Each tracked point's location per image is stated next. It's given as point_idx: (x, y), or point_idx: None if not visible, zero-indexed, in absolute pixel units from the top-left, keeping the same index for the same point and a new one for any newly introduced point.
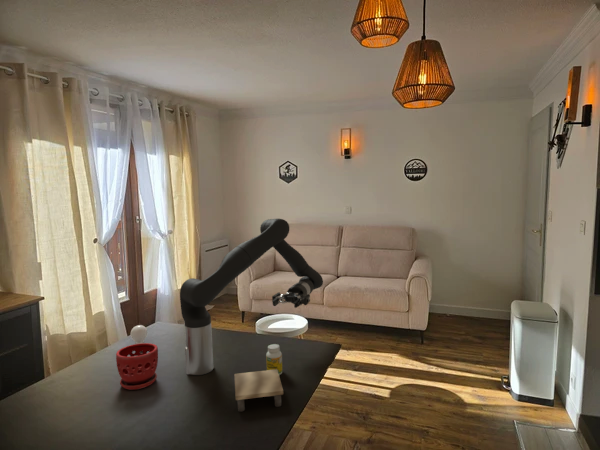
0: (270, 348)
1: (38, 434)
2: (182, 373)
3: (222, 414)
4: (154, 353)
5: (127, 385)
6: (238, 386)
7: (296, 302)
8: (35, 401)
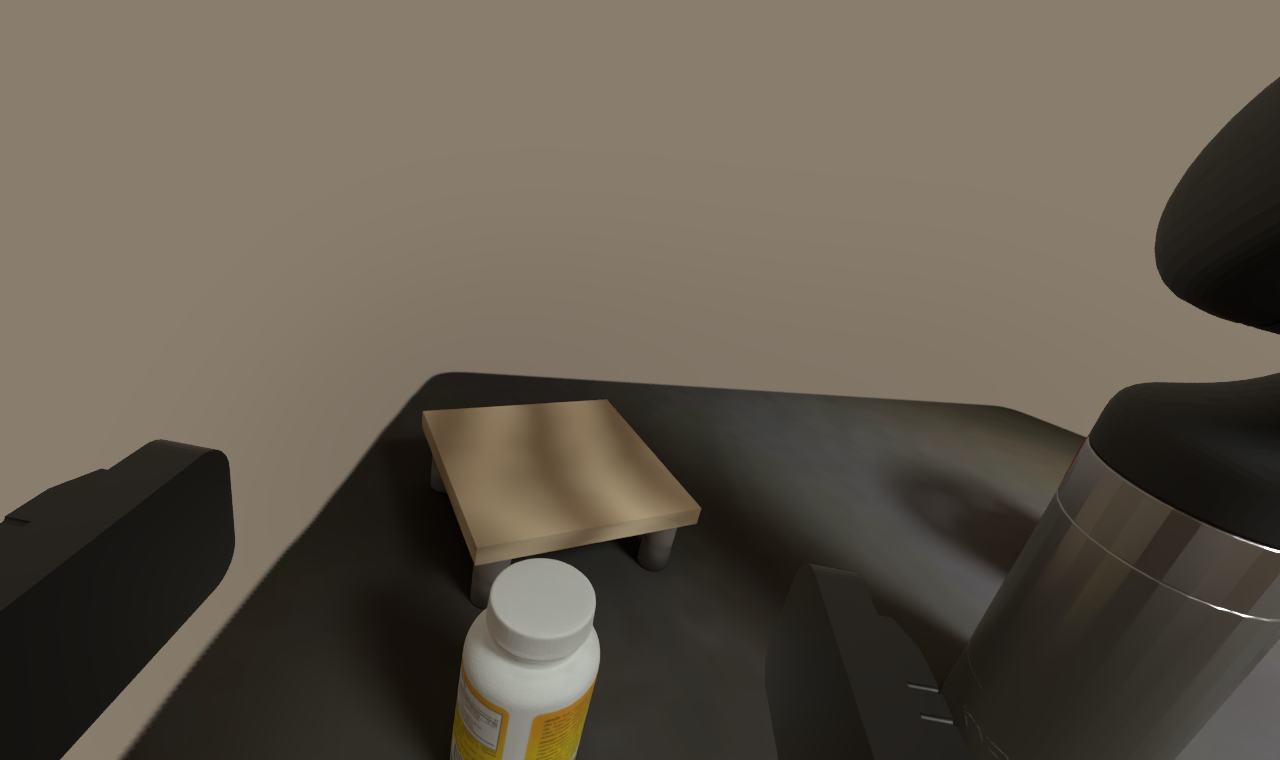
0: (560, 562)
1: (995, 420)
2: None
3: None
4: None
5: None
6: (626, 437)
7: (142, 461)
8: None
